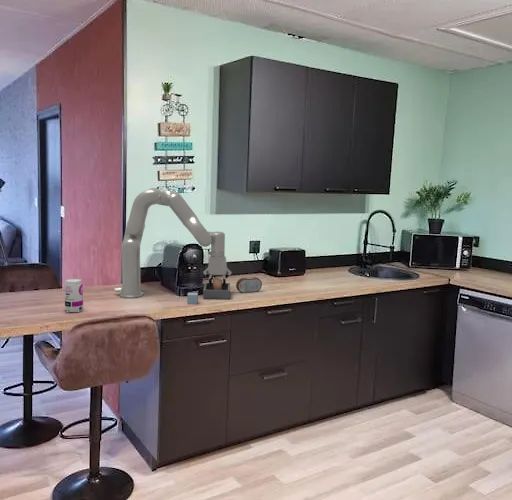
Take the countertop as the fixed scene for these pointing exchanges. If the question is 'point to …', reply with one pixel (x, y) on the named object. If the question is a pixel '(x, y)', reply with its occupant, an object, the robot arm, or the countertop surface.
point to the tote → (216, 292)
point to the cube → (192, 298)
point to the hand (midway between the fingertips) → (217, 285)
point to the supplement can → (73, 295)
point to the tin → (249, 284)
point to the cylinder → (217, 284)
